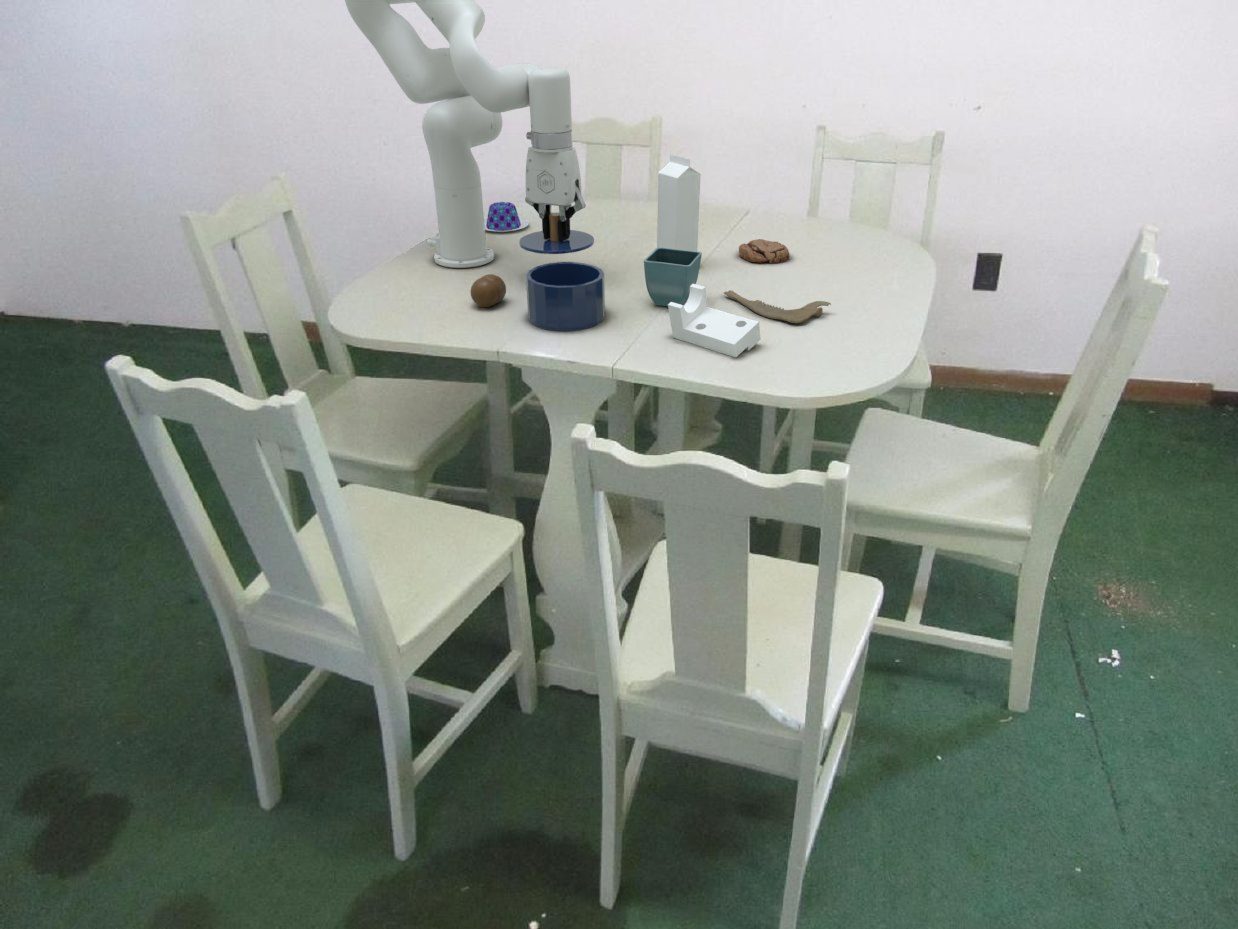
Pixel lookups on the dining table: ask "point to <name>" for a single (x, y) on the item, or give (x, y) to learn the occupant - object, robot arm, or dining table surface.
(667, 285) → the flower pot
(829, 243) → the dining table surface
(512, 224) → the pudding
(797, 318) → the jawbone
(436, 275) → the dining table surface
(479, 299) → the kiwi
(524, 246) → the lid
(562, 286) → the crock
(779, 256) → the cookie
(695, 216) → the milk
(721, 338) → the bracket
